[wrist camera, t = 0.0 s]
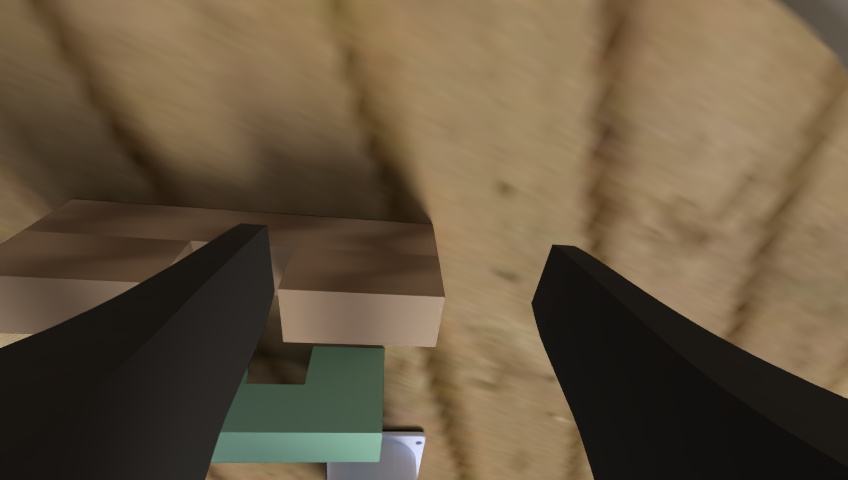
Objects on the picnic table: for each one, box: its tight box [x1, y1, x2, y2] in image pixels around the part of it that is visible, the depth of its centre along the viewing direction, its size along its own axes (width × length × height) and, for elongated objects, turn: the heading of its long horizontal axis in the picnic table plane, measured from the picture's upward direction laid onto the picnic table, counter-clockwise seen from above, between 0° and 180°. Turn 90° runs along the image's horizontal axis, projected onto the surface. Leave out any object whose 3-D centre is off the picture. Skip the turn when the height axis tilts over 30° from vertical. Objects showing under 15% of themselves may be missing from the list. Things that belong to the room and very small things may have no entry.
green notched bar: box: [211, 346, 385, 463], centre depth 23 cm, size 14×3×6 cm, turn 83°
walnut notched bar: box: [0, 199, 445, 347], centre depth 18 cm, size 18×3×6 cm, turn 83°
